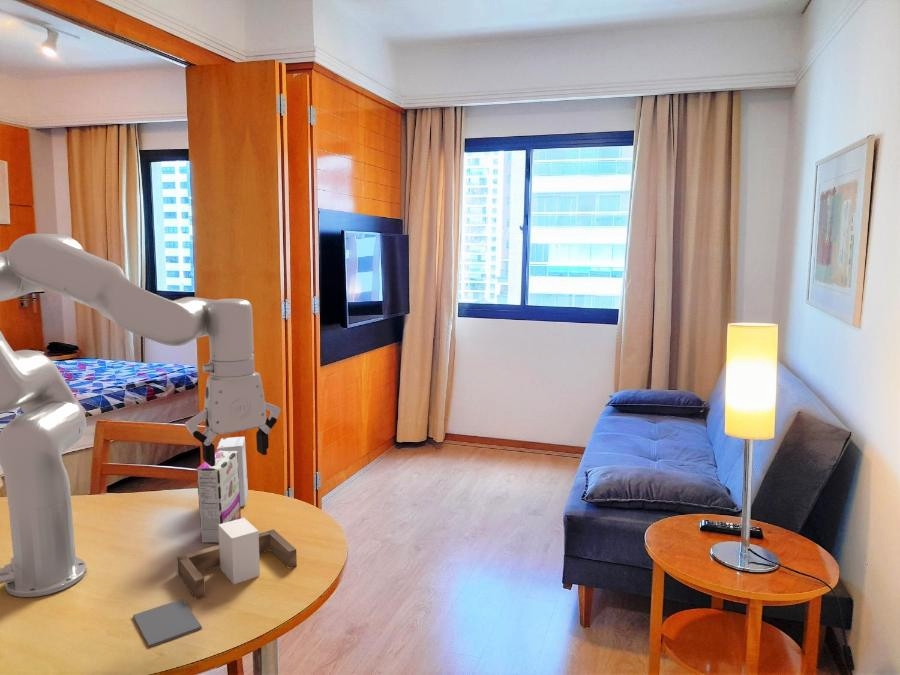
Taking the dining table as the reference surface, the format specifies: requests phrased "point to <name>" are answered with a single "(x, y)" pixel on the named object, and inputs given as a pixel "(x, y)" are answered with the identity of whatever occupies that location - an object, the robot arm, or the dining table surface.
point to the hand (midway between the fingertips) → (236, 458)
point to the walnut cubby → (210, 558)
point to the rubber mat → (166, 622)
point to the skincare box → (239, 446)
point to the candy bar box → (218, 494)
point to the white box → (239, 550)
